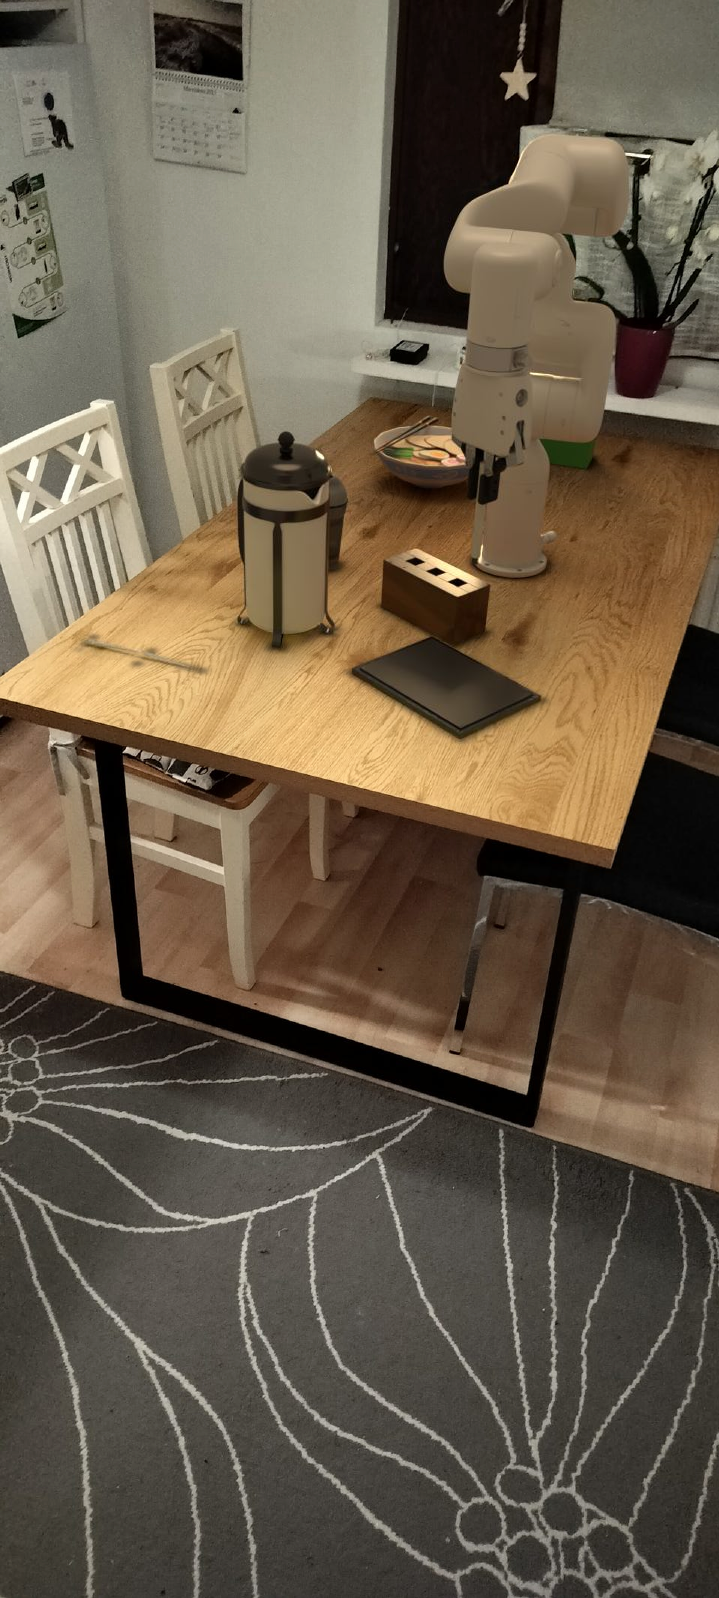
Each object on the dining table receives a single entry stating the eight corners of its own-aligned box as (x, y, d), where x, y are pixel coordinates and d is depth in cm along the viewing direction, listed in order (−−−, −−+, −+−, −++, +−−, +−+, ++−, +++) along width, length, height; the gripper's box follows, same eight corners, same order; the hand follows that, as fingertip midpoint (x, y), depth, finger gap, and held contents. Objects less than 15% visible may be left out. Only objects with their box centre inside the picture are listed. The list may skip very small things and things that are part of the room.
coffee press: (346, 609, 187) (353, 418, 169) (321, 656, 174) (325, 455, 156) (241, 594, 190) (236, 405, 172) (208, 640, 177) (199, 441, 159)
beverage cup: (341, 577, 196) (344, 458, 184) (298, 571, 197) (299, 453, 185) (350, 559, 202) (354, 443, 190) (308, 554, 203) (310, 438, 191)
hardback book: (501, 455, 245) (514, 335, 231) (510, 444, 251) (523, 325, 237) (586, 468, 241) (605, 346, 227) (592, 456, 247) (611, 337, 233)
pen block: (412, 594, 192) (416, 548, 187) (485, 632, 182) (490, 584, 177) (380, 606, 188) (383, 559, 183) (453, 645, 178) (457, 597, 174)
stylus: (194, 670, 167) (77, 642, 172) (194, 676, 168) (77, 648, 173) (207, 657, 170) (92, 630, 176) (207, 663, 171) (92, 636, 176)
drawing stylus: (473, 560, 161) (484, 459, 153) (481, 563, 161) (492, 462, 152) (468, 563, 161) (478, 462, 152) (475, 566, 160) (486, 465, 152)
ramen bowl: (451, 515, 219) (455, 472, 214) (346, 487, 228) (347, 445, 223) (510, 476, 236) (515, 435, 231) (410, 451, 245) (413, 411, 241)
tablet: (351, 672, 170) (351, 666, 170) (431, 640, 179) (431, 634, 179) (460, 739, 157) (460, 732, 157) (540, 700, 166) (541, 694, 166)
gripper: (565, 365, 142) (545, 511, 153) (471, 335, 151) (459, 475, 162) (523, 377, 138) (506, 526, 149) (429, 345, 147) (420, 487, 158)
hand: (481, 498), depth 155 cm, fingers closed on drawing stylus, 1 cm apart
